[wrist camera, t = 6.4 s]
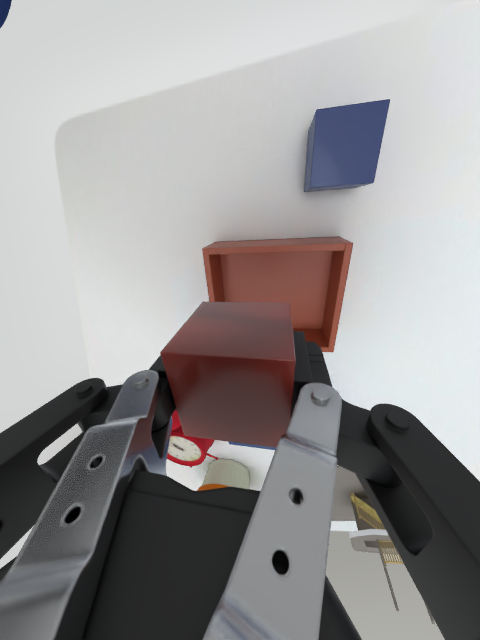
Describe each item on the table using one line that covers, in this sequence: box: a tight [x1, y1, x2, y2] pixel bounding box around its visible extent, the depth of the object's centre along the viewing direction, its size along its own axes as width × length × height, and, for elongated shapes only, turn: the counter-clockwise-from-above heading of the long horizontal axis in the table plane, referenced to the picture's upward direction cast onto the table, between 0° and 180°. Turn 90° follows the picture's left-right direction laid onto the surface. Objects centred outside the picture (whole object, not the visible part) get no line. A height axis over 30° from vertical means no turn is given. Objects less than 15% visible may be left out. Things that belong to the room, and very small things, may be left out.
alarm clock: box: [167, 410, 218, 467], centre depth 39 cm, size 10×6×15 cm
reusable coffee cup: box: [197, 459, 249, 491], centre depth 39 cm, size 13×13×15 cm
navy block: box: [304, 99, 390, 192], centre depth 17 cm, size 4×4×4 cm
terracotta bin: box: [202, 237, 353, 352], centre depth 23 cm, size 13×11×4 cm
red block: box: [160, 302, 296, 448], centre depth 10 cm, size 4×4×4 cm
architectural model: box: [331, 466, 435, 624], centre depth 35 cm, size 21×25×14 cm
